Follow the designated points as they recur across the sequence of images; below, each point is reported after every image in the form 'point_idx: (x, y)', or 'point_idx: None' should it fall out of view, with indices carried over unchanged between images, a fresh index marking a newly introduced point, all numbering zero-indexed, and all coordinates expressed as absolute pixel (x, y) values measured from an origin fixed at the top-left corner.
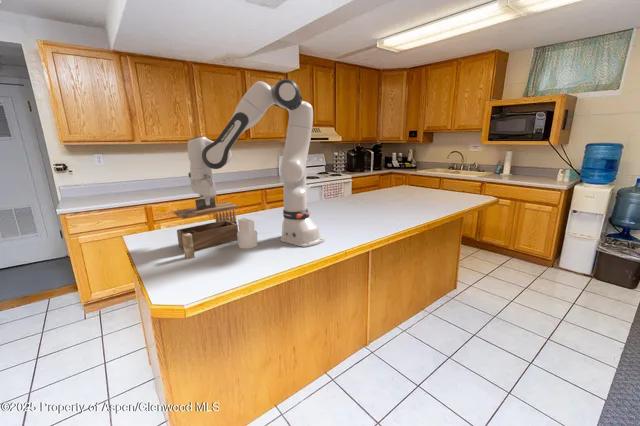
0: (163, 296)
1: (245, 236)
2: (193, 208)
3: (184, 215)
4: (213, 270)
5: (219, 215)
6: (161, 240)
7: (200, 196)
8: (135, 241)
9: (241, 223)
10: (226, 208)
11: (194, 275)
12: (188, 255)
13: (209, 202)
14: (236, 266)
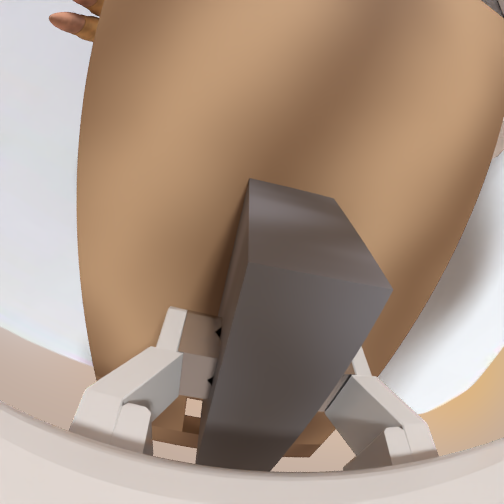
0: (422, 405)
1: (497, 153)
2: (125, 352)
3: (305, 451)
4: (456, 319)
5: (87, 4)
6: (41, 277)
7: (151, 449)
8: (12, 321)
9: (502, 126)
10: (485, 165)
11: (428, 355)
12: None
13: (365, 359)
14: (497, 272)
